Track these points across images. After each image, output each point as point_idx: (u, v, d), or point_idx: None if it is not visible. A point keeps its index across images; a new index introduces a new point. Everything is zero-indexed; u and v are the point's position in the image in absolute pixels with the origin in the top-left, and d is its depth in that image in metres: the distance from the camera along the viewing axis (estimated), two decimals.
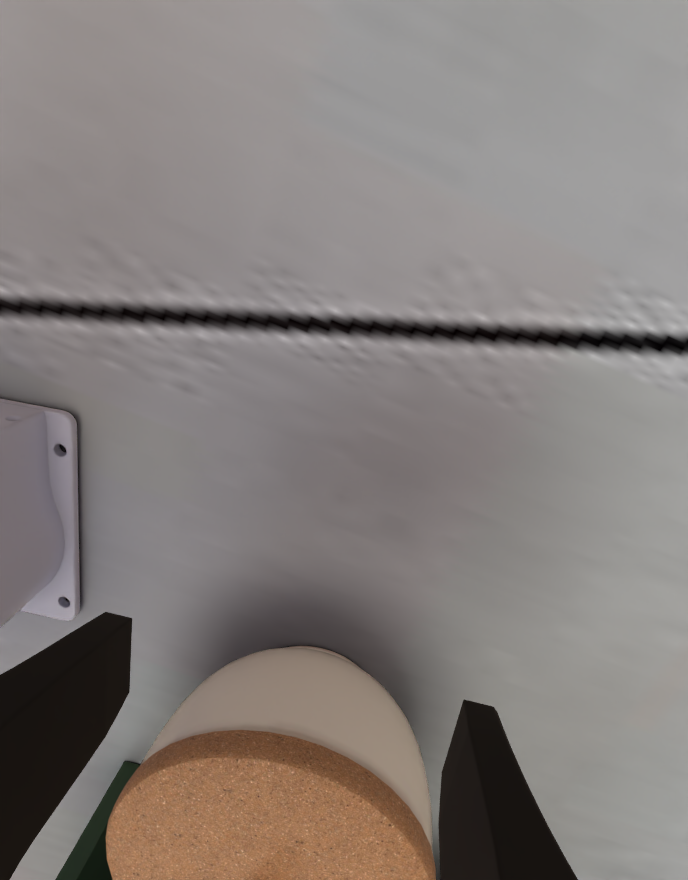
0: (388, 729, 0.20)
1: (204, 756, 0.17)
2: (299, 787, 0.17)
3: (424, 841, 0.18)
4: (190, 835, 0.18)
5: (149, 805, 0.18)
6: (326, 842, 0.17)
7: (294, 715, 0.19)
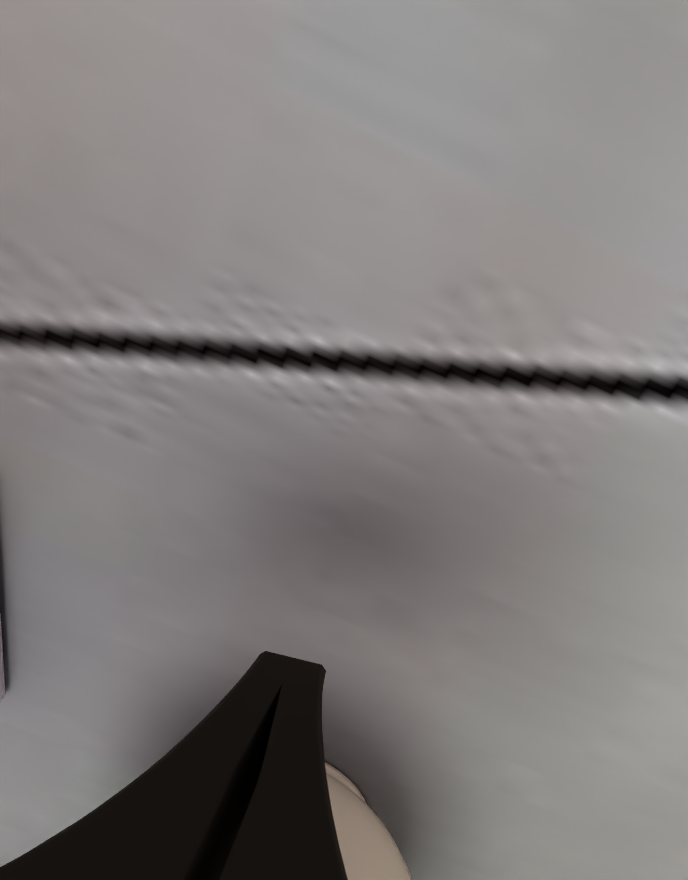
0: None
1: None
2: None
3: None
4: None
5: None
6: None
7: None
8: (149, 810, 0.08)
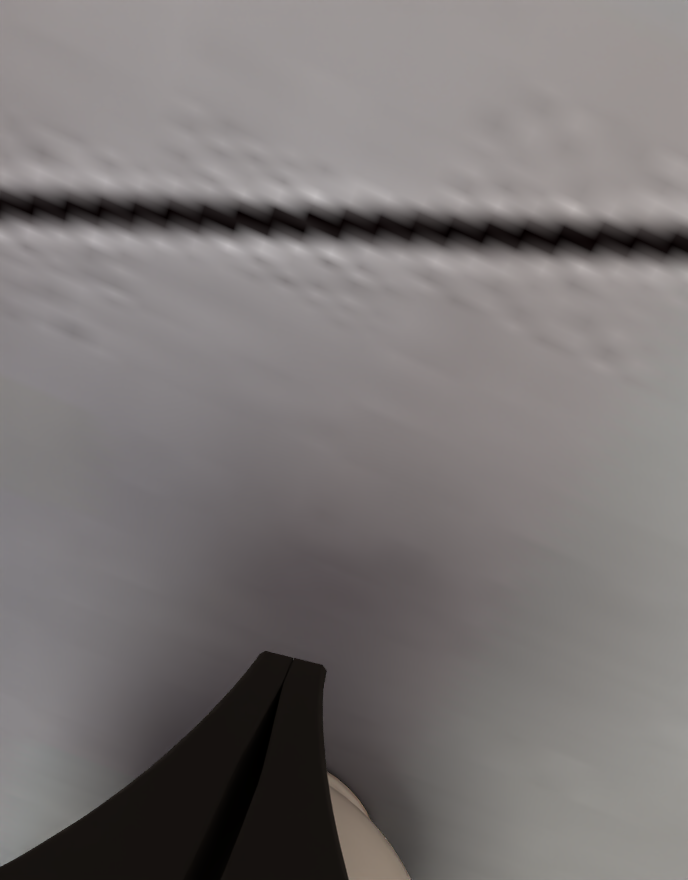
0: None
1: None
2: None
3: None
4: None
5: None
6: None
7: None
8: (148, 810, 0.08)
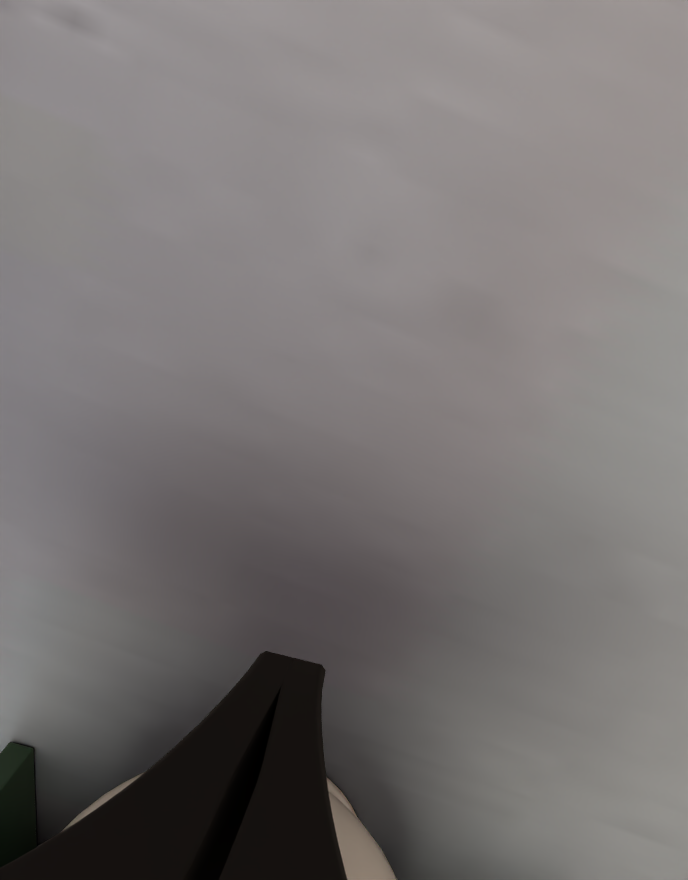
0: None
1: None
2: None
3: None
4: None
5: None
6: None
7: None
8: (149, 810, 0.08)
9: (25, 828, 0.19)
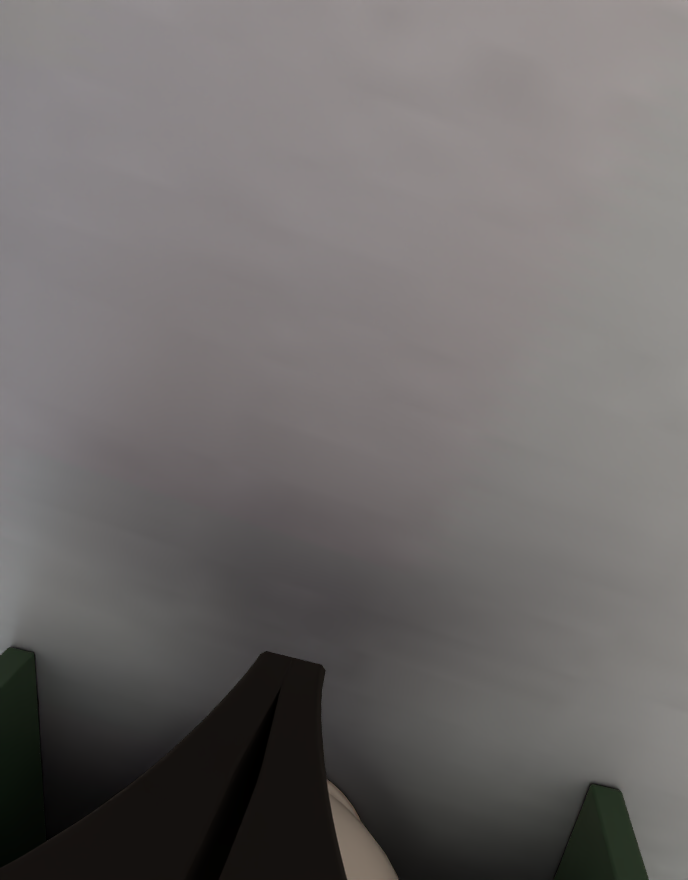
0: None
1: None
2: None
3: None
4: None
5: None
6: None
7: None
8: (150, 810, 0.08)
9: (27, 743, 0.17)
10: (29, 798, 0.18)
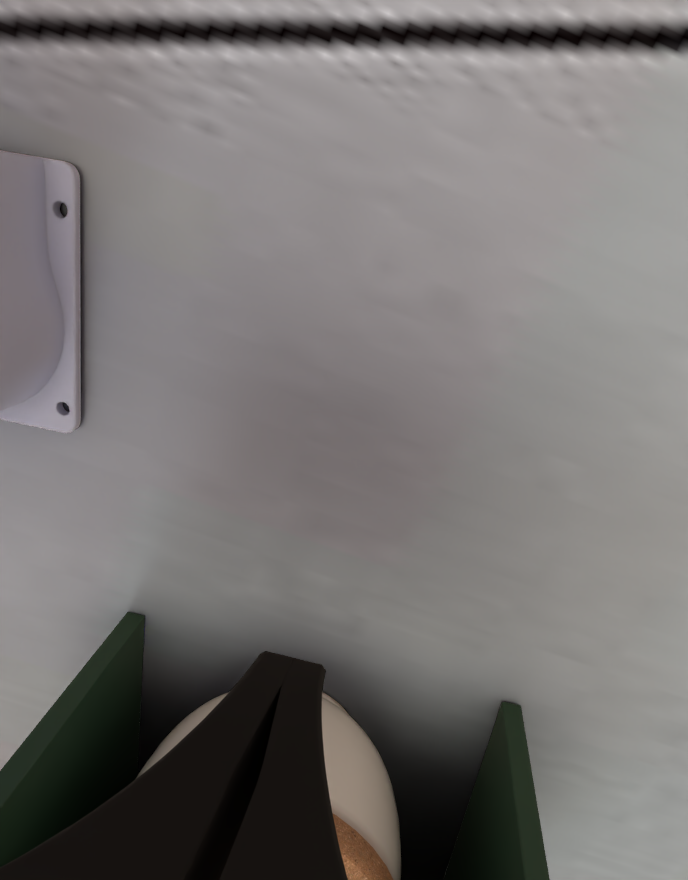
0: (373, 785, 0.21)
1: None
2: None
3: None
4: None
5: None
6: None
7: None
8: (149, 810, 0.08)
9: (137, 675, 0.26)
10: (134, 714, 0.27)
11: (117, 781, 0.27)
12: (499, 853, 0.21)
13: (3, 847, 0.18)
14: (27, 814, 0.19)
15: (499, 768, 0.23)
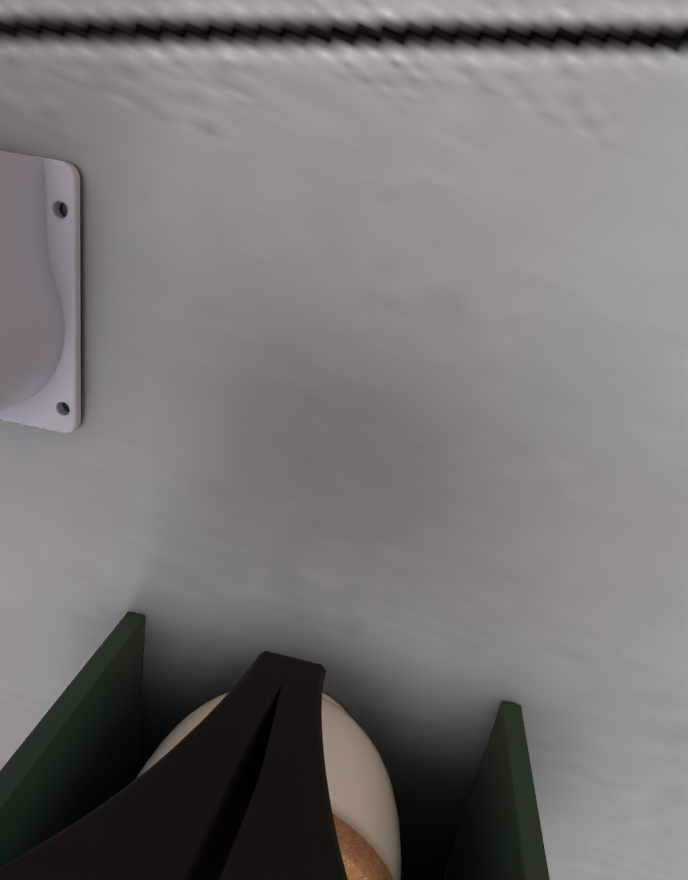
0: (373, 785, 0.21)
1: None
2: None
3: None
4: None
5: None
6: None
7: None
8: (149, 810, 0.08)
9: (137, 675, 0.26)
10: (134, 714, 0.27)
11: (117, 781, 0.27)
12: (499, 853, 0.21)
13: (3, 847, 0.18)
14: (27, 814, 0.19)
15: (499, 768, 0.23)
